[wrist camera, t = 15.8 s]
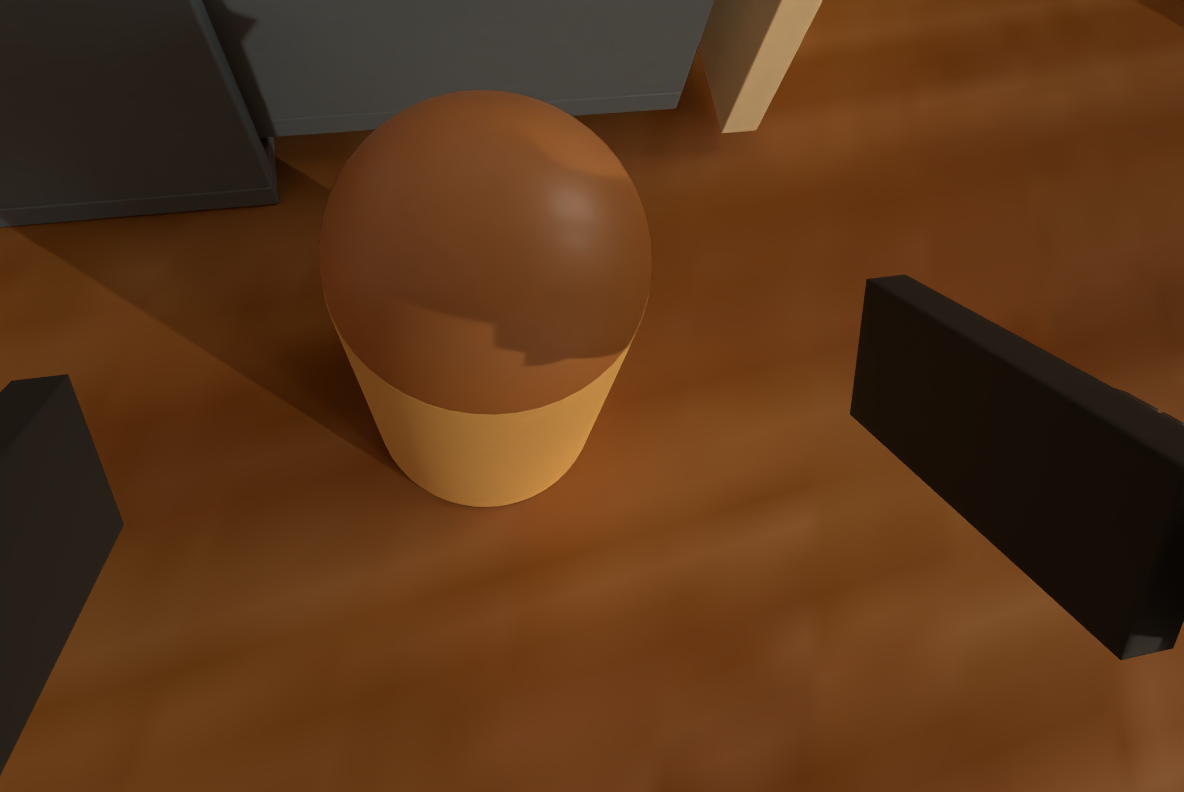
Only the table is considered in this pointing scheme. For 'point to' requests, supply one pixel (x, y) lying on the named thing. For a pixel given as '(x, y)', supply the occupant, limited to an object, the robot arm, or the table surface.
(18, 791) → the table surface
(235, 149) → the cabinet
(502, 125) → the dome-topped cylinder
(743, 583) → the table surface
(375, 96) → the drawer
